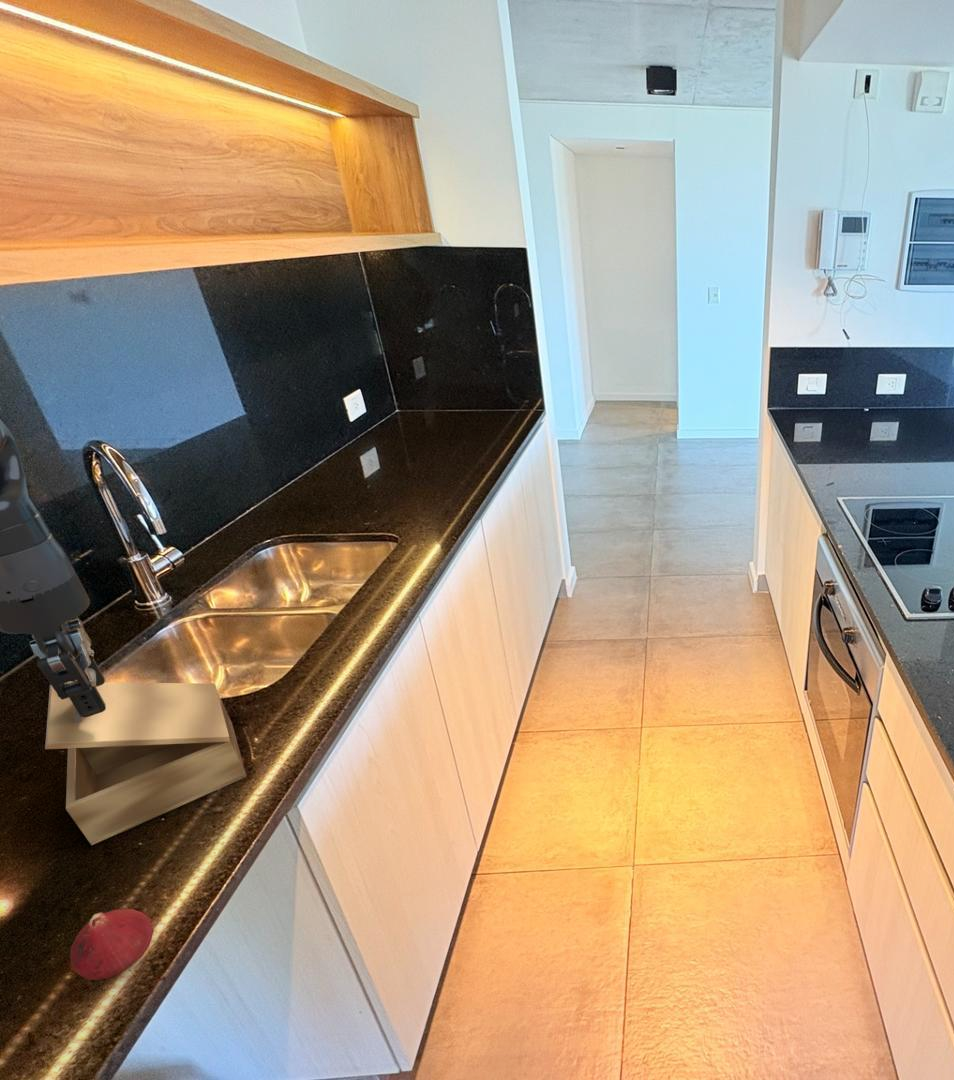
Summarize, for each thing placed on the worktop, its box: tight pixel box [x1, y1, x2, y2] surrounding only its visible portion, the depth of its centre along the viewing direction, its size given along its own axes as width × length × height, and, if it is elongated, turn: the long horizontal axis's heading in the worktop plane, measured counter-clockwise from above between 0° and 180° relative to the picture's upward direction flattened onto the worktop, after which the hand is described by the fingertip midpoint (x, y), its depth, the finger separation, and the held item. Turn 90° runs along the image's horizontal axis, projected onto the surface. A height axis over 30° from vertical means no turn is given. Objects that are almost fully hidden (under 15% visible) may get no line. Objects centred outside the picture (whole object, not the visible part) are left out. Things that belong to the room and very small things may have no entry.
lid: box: [44, 668, 229, 750], centre depth 78 cm, size 16×14×5 cm
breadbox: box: [65, 691, 247, 846], centre depth 82 cm, size 16×14×7 cm
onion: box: [69, 908, 155, 981], centre depth 61 cm, size 6×6×8 cm
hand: (94, 698), depth 75 cm, fingers closed on lid, 5 cm apart
